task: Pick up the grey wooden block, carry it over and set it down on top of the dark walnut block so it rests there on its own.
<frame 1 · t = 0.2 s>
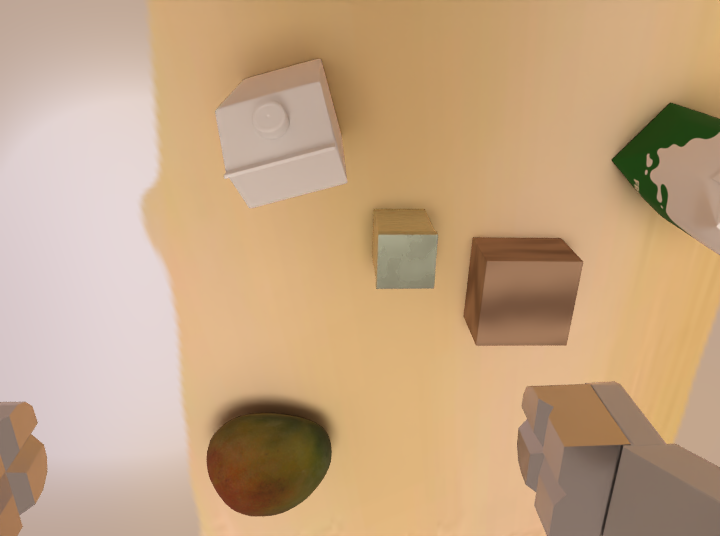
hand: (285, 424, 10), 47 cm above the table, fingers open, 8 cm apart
walnut block: (510, 277, 63), on the table
milk carton: (293, 107, 55), on the table
soya milk: (660, 154, 58), on the table
fruit: (274, 428, 69), on the table
grey wooden block: (397, 233, 60), on the table
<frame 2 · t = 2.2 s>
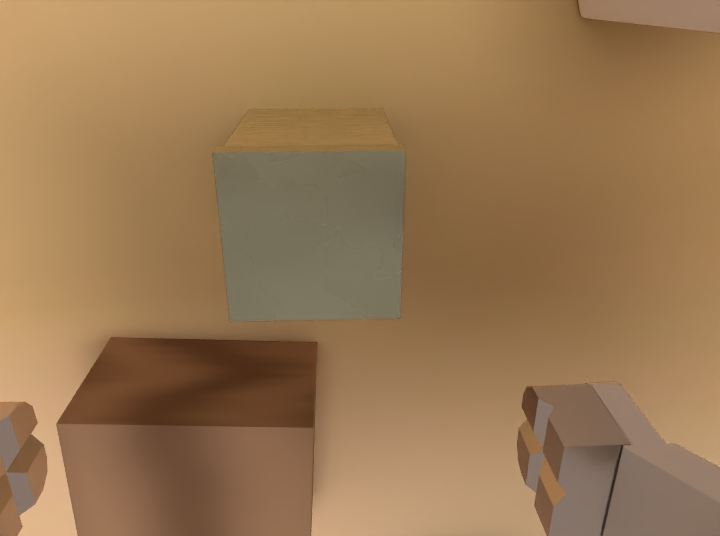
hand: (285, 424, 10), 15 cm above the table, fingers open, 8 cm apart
walnut block: (220, 419, 29), on the table
grey wooden block: (318, 173, 24), on the table
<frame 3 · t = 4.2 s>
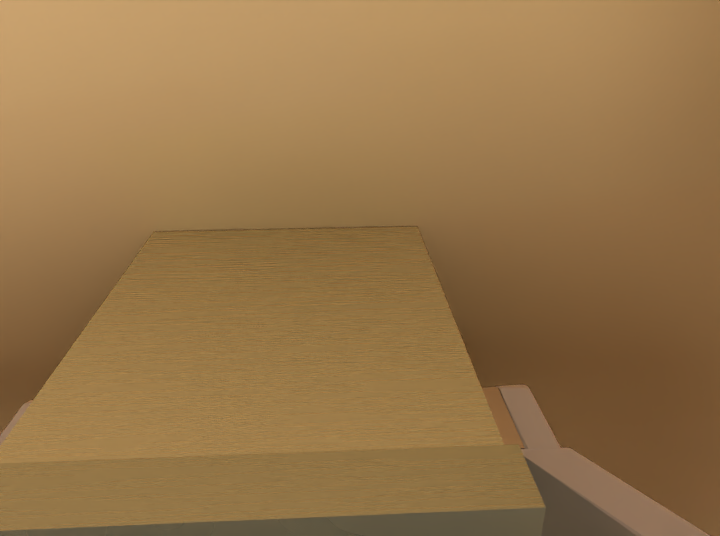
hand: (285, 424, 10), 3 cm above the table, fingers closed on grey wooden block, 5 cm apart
grey wooden block: (293, 342, 13), on the table, touching gripper
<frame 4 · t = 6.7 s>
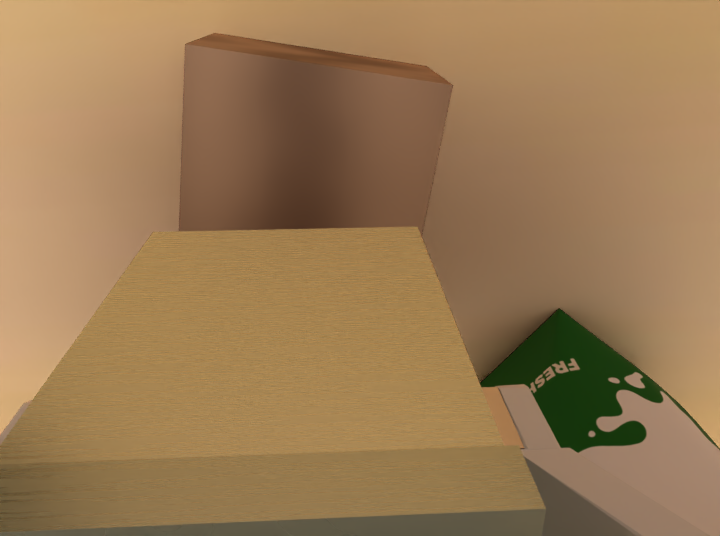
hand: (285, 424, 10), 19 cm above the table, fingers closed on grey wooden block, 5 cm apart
walnut block: (310, 153, 28), on the table
soya milk: (553, 383, 33), on the table
grey wooden block: (292, 342, 13), point 16 cm above the table, touching gripper
when the fingers open (10 cm above the table, at t = 9.1 s): grey wooden block drops 1 cm, resting on walnut block.
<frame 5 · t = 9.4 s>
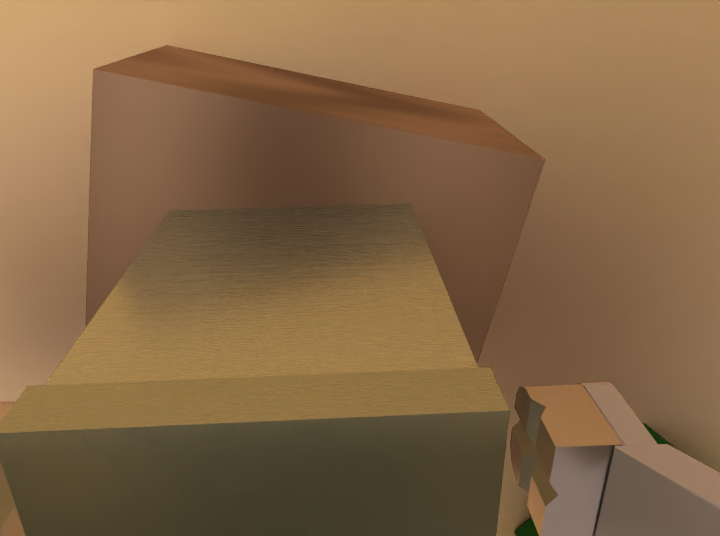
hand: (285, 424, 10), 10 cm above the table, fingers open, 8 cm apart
walnut block: (302, 223, 19), on the table, touching grey wooden block
soya milk: (629, 513, 25), on the table
grey wooden block: (297, 312, 14), point 6 cm above the table, touching walnut block
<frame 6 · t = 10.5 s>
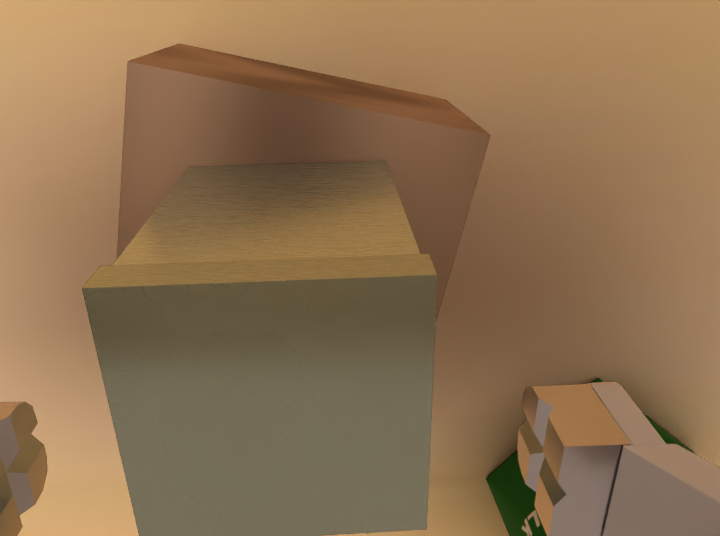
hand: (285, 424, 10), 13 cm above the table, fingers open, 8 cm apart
walnut block: (294, 198, 22), on the table, touching grey wooden block
soya milk: (588, 461, 28), on the table
grey wooden block: (294, 253, 16), point 6 cm above the table, touching walnut block
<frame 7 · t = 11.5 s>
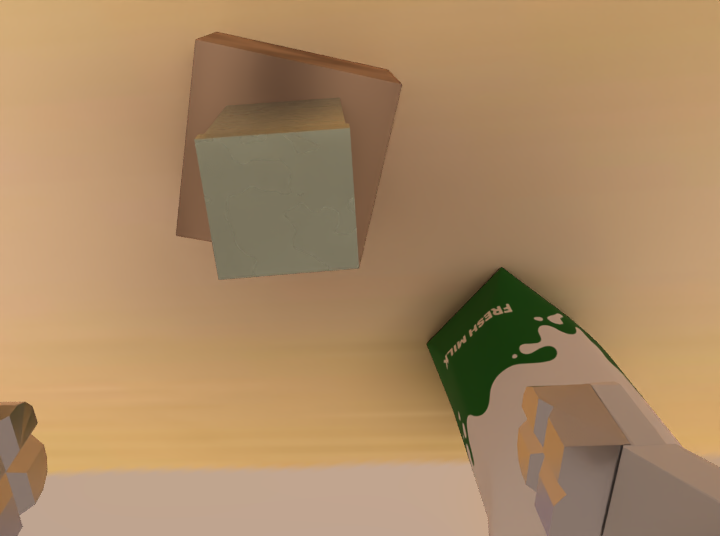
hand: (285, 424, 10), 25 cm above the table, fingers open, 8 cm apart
walnut block: (290, 135, 33), on the table, touching grey wooden block
soya milk: (500, 333, 39), on the table
grey wooden block: (289, 157, 28), point 6 cm above the table, touching walnut block
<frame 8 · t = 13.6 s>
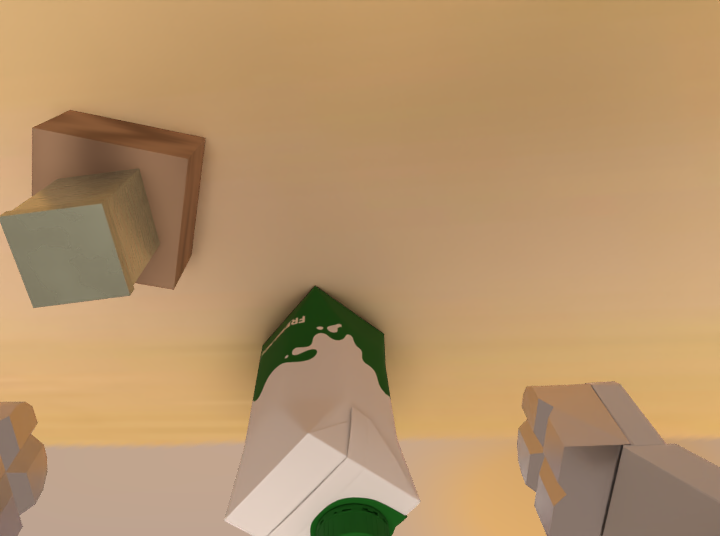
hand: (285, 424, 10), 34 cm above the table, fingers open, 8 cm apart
walnut block: (135, 185, 43), on the table, touching grey wooden block
soya milk: (322, 337, 49), on the table
grey wooden block: (110, 212, 38), point 6 cm above the table, touching walnut block
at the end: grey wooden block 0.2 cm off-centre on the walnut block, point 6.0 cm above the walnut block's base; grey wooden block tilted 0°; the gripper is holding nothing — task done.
